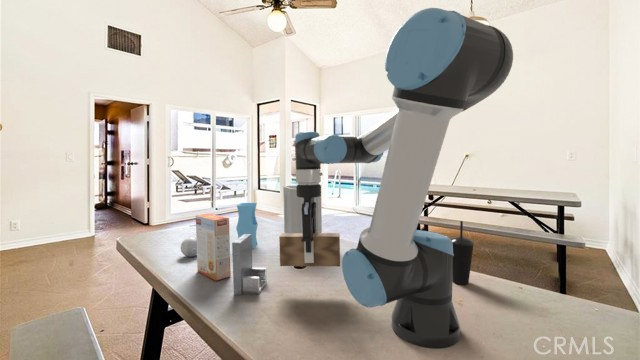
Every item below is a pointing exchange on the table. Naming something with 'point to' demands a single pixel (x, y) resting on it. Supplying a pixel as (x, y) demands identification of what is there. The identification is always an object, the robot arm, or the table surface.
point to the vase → (247, 221)
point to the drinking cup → (462, 258)
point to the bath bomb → (189, 247)
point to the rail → (323, 249)
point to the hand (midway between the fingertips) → (310, 259)
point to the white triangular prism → (297, 211)
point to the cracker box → (213, 246)
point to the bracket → (246, 268)
